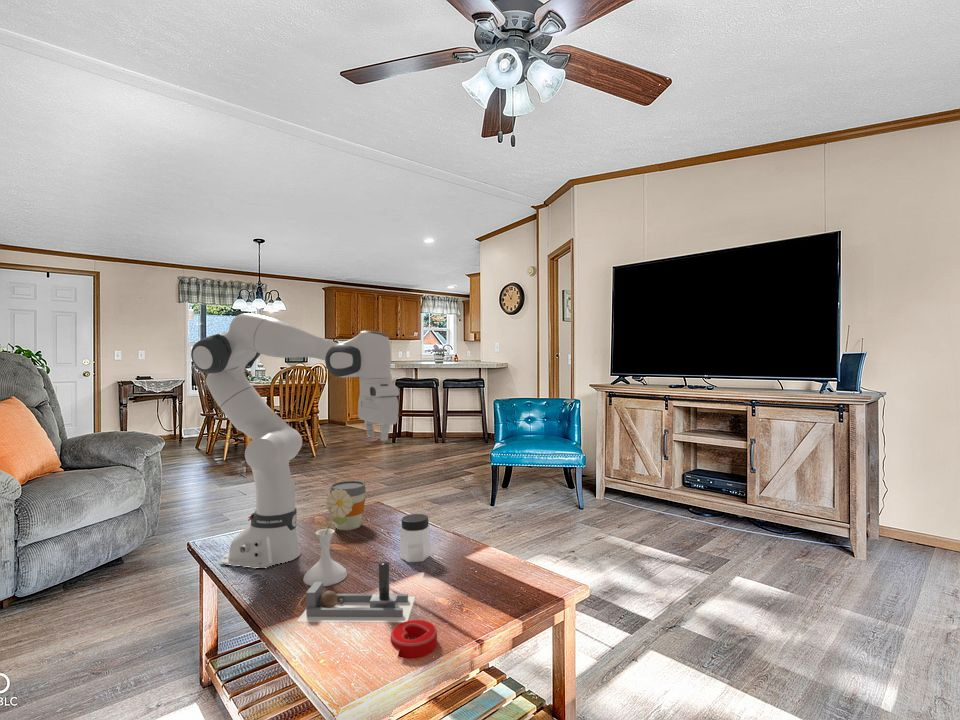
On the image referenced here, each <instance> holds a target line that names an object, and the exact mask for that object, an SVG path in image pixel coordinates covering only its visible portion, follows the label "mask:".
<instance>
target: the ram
mask: <svg viewBox="0 0 960 720" xmlns="http://www.w3.org/2000/svg"><path fill="white" fill-rule="evenodd" d="M372 594H373V595H372V597H371V599H370V608H397V606H398V594H399V593H390V562H389V561H380V562H379V563H378V593H372Z"/></svg>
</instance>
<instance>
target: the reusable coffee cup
mask: <svg viewBox="0 0 960 720" xmlns="http://www.w3.org/2000/svg"><path fill="white" fill-rule="evenodd" d="M335 489H337V490H340V489H342V491H343V490H345V491H346V492H347V494H348V495H350V498H352V504H353V506H352V507H351V508H352V511H350V512H349V514H346V516H345V517H346V518H347V519H348V521H347V522H345V523H343V524H341V525H338V524H336V523H335V522H334V526H335V527H334V528H335V529H336V528H337V529H336V530H338V529H339V530H340V531H352V530H355V529H358V528H360V527H361V525H362V517H363V512H364V511H365V502H366V498H365V493H366V492H367V490H366V484H365V482H363V481H361V480H359V481H358V480H344V481H343V480H342V481H338V482H335V483H332V484H331V485H330V490H329V494H331V493H332V491H334V490H335ZM334 518H335V517H334ZM339 530H338V531H339Z"/></svg>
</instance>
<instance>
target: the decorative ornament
mask: <svg viewBox="0 0 960 720" xmlns="http://www.w3.org/2000/svg"><path fill="white" fill-rule="evenodd" d="M437 631H438V630H437V628H436V626H435V625H434V624H433V623H431V622H430V621H427V620H424V619H410V621H409V620H408V621H406V622H399V624H397V625H395V626H394V628H393V629H392V631H391V633H390V644H391V645H392V647H394V648H395V649H397V650H399V651H398V654H397V657H399V658H401V659H408V660H412V659H413V660H414V659H420V658H423V657H425V656H426V657H427V656H428V655H430V654H432V653H433V652H434V651H435V650H436V648H437V647H438V646H437V645H438V632H437ZM410 638H414V639H410Z"/></svg>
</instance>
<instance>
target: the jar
mask: <svg viewBox="0 0 960 720" xmlns="http://www.w3.org/2000/svg"><path fill="white" fill-rule="evenodd" d="M429 523H430V522H429V517H428V515H425V514H423V513H410V514H407V515H404V516H403V517H401V526H400V527H399V531H400V532H399V533H400V534H399V535H400V537H399V540H400V543H399V544H400V545H399V548H400V549H399V550H400V553H399V554H400V555H399V556H400V558H401V559H402V560H404V561H405V562H407V563H420V562H424V561H425V560H427V559H428V558H430V556H431V539H430V537H431V535H430V534H431V527H430V525H429Z"/></svg>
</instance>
